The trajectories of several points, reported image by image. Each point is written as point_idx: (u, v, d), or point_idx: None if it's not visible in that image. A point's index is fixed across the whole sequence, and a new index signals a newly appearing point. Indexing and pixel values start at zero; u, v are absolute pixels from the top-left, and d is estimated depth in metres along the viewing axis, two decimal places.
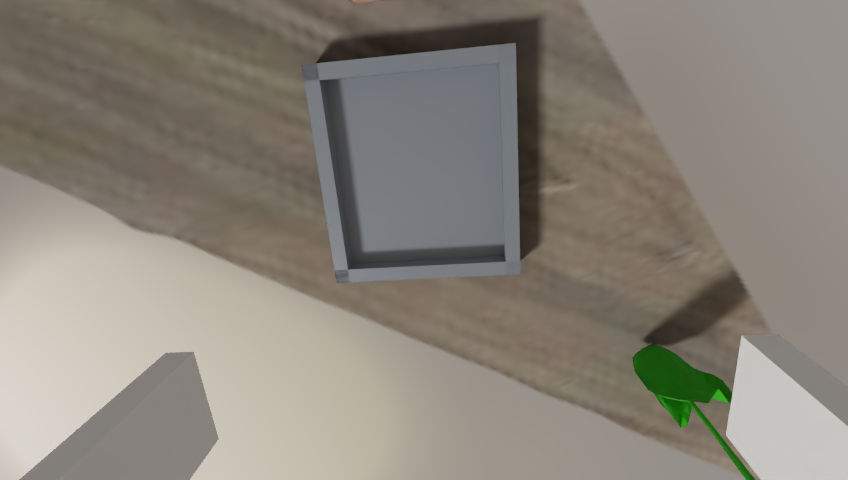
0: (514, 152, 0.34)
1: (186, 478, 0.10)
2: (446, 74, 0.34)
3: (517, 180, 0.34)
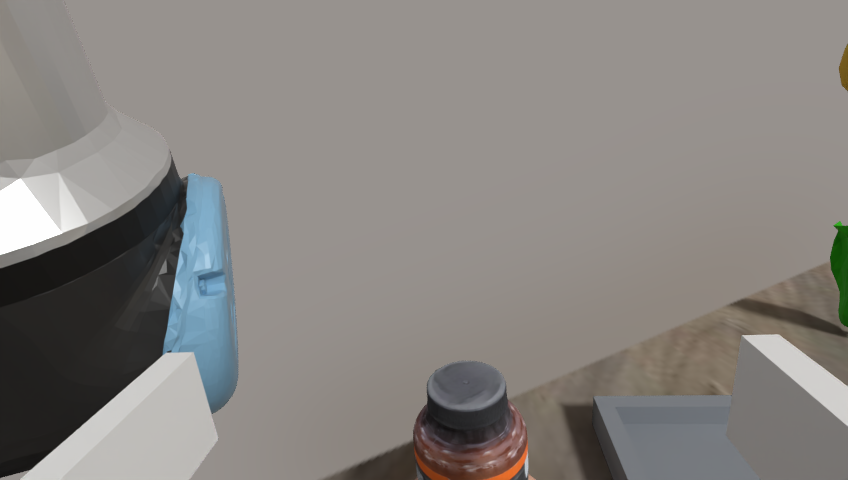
0: (705, 397, 0.32)
1: (186, 478, 0.10)
2: None
3: None
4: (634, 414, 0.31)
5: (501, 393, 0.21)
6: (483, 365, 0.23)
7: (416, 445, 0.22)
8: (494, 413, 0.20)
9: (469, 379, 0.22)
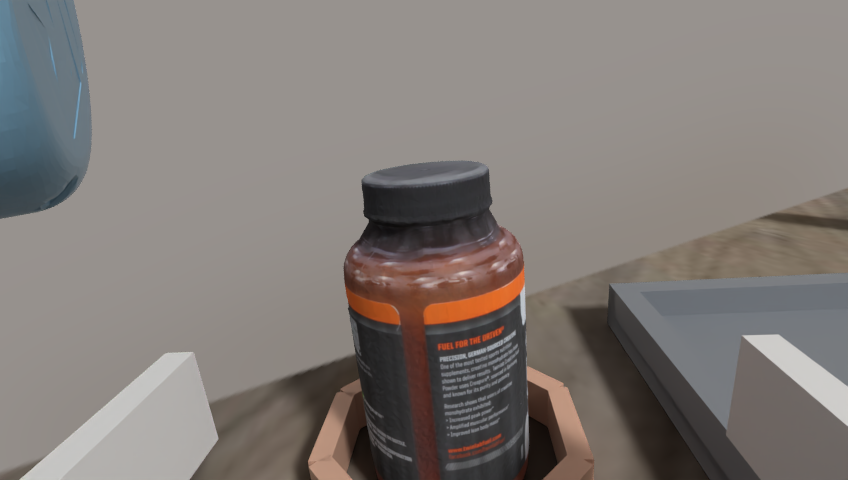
0: (758, 279, 0.24)
1: (186, 478, 0.10)
2: None
3: (800, 275, 0.24)
4: (665, 302, 0.23)
5: (481, 171, 0.13)
6: (454, 161, 0.15)
7: (345, 272, 0.13)
8: (468, 198, 0.12)
9: (430, 168, 0.14)
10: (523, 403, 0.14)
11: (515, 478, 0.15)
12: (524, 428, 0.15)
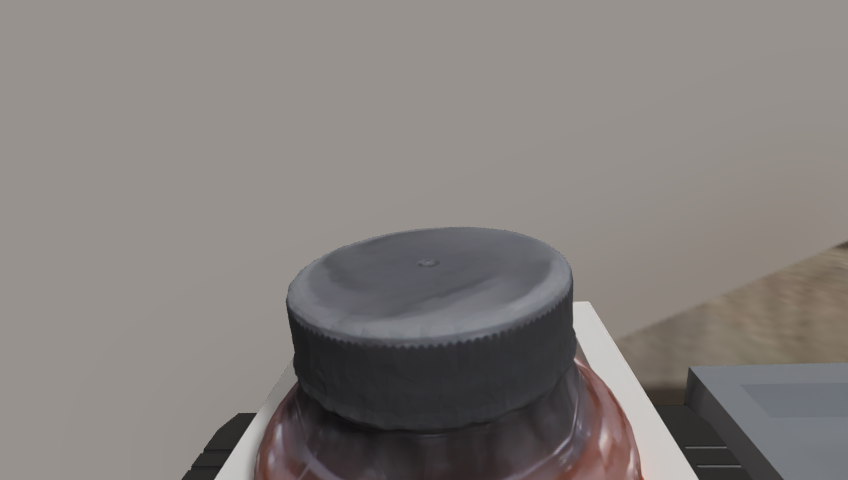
0: None
1: None
2: None
3: None
4: (776, 399, 0.16)
5: (563, 284, 0.05)
6: (486, 231, 0.07)
7: None
8: (535, 359, 0.05)
9: (441, 256, 0.06)
10: None
11: None
12: None
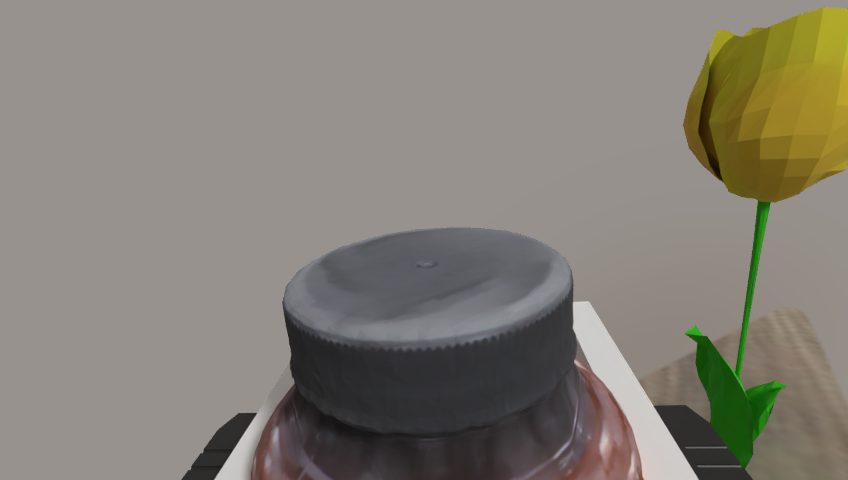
0: None
1: None
2: None
3: None
4: None
5: (563, 285, 0.05)
6: (485, 231, 0.07)
7: None
8: (535, 362, 0.05)
9: (439, 257, 0.06)
10: None
11: None
12: None
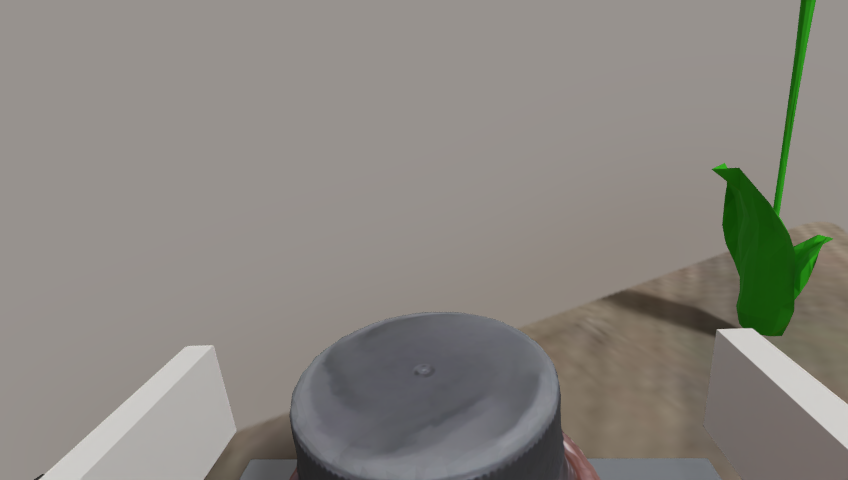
0: None
1: (207, 468, 0.11)
2: None
3: None
4: None
5: (550, 407, 0.06)
6: (480, 321, 0.08)
7: None
8: None
9: (436, 361, 0.07)
10: None
11: None
12: None
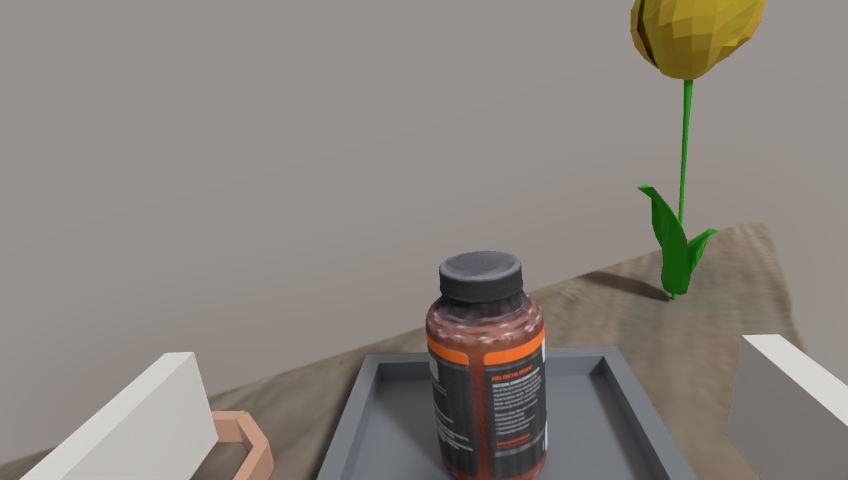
0: None
1: (186, 478, 0.10)
2: (376, 418, 0.28)
3: None
4: (398, 370, 0.31)
5: (517, 268, 0.20)
6: (496, 252, 0.22)
7: (429, 329, 0.21)
8: (509, 286, 0.20)
9: (483, 261, 0.21)
10: (544, 413, 0.22)
11: (539, 463, 0.22)
12: (544, 430, 0.22)
